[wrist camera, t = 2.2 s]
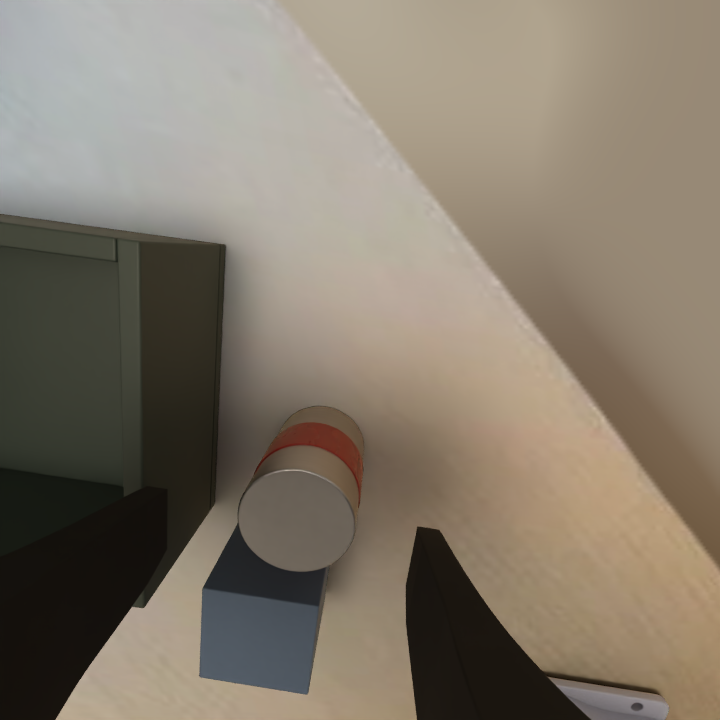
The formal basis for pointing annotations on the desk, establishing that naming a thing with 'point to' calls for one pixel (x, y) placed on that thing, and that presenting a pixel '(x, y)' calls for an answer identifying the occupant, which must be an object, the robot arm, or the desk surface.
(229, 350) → the desk surface
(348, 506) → the can
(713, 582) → the desk surface
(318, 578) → the dark blue rectangular block
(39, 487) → the dark olive open box
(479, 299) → the desk surface
